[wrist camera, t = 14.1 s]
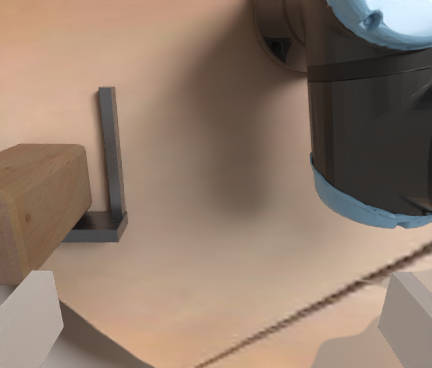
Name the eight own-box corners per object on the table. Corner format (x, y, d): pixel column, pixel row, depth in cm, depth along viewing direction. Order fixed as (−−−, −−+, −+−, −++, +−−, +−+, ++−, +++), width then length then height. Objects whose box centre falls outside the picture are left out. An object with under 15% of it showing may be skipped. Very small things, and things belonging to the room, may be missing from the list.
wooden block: (87, 142, 46) (5, 193, 27) (94, 205, 49) (27, 289, 30) (17, 142, 45) (-116, 193, 26) (29, 205, 49) (-80, 290, 30)
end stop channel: (-34, 84, 42) (-70, 86, 37) (116, 86, 43) (103, 89, 37) (0, 222, 49) (-26, 242, 44) (127, 222, 50) (118, 242, 45)
